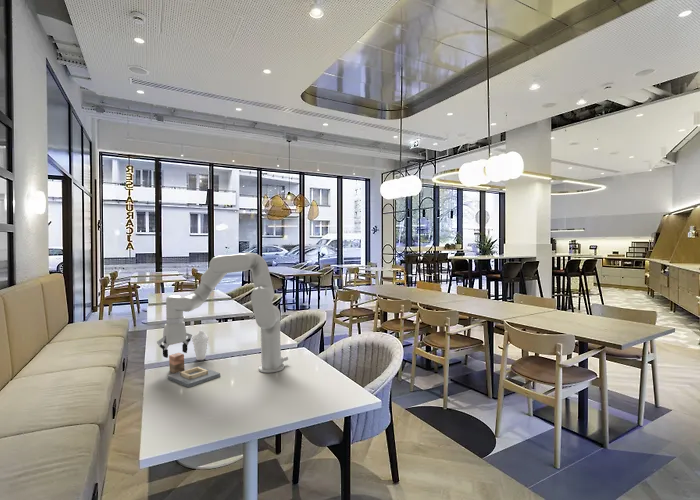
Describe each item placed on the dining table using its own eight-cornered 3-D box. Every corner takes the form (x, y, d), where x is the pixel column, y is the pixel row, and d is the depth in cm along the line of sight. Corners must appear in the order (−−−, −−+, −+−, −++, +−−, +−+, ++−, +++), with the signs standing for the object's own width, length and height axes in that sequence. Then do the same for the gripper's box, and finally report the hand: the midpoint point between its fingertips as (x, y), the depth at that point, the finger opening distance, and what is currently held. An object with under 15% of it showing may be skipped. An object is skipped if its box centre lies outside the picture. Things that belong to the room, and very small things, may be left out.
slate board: (199, 368, 191) (199, 362, 191) (220, 376, 180) (220, 370, 180) (168, 378, 178) (167, 372, 178) (188, 387, 167) (187, 380, 167)
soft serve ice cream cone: (189, 360, 204) (188, 331, 204) (200, 355, 212) (199, 327, 211) (201, 362, 201) (200, 332, 200) (212, 357, 209) (211, 328, 208)
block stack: (179, 368, 192) (178, 352, 192) (184, 370, 189) (183, 354, 189) (169, 371, 188) (169, 355, 188) (174, 373, 185) (174, 357, 185)
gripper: (187, 316, 197) (188, 349, 198) (153, 322, 183) (154, 357, 184) (195, 318, 192) (195, 352, 193) (160, 324, 179) (161, 360, 179)
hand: (175, 354), depth 189 cm, fingers open, 9 cm apart
